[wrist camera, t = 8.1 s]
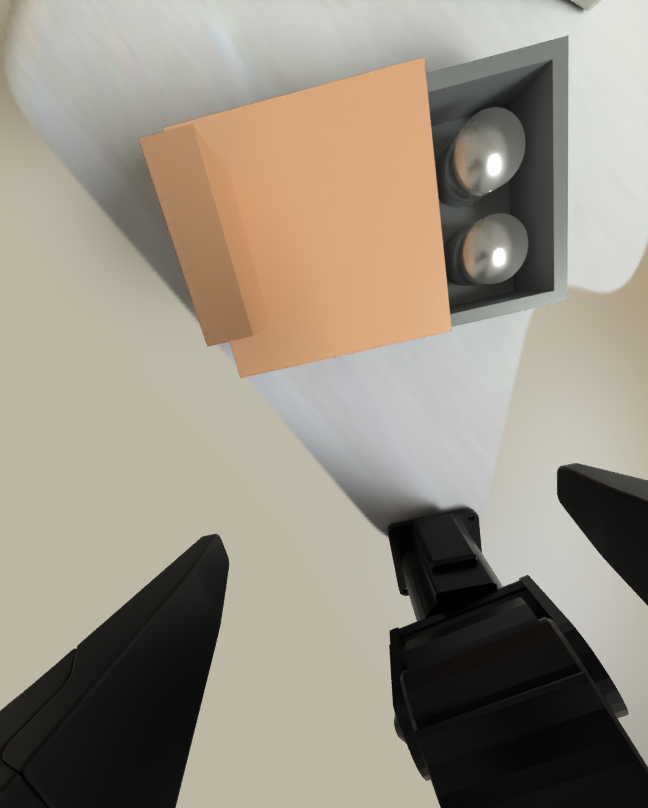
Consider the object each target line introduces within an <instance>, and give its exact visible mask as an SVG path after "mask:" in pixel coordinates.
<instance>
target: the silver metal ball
mask: <svg viewBox="0 0 648 808" xmlns="http://www.w3.org/2000/svg"><path fill="white" fill-rule="evenodd" d="M524 152H525V133H524V130H523V127H522V124H521V122H520V121H519V119H518V118H517V117H516V116H515V115H514V114H513V113H512V112H510V111H509V110H507V109H504V108H499V107H492V108H487V109H484V110H482V111H480V112H478V113H477V114H475V115H474V116H473V117H472V118H470V119H469V121H468V122H467V123H466V124H465V125H464V126H463V128H462V129H461V130H460V131H459V132H458V134H457V135H456V136H455V137H454V138H453V140H452V141H451V142H450V143H449V144H448V145H447V147H446V148H445V149H444V150H443V151H442V153H441V154H440V155H439V157H438V159H437V161H436V163H435V170H436V180H437V189H438V198H439V199H440V200H441V201H442V202H443V203H445V204H446V205H448V206H450V207H455V208H462V207H466V206H469V205H471V204H473V203H474V202H476V201H478V200H479V199H481V198H482V197H484V196H486V195H487V194H489V193H490V192H492V191H494V190H495V189H497V188H499V187H500V186H502V185H503V184H505V183H506V182H507V181H509V180H510V179H511V178H512V177H513V175H514V174H515V173H516V171H517V170H518V168H519V166H520V164H521V162H522V159H523V156H524Z"/></svg>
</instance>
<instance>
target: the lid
mask: <svg viewBox="0 0 648 808" xmlns="http://www.w3.org/2000/svg"><path fill="white" fill-rule="evenodd" d="M163 129H164V132H160V133H156V134H152V135H149V136H145V137H141V138H139V141H140V144H141V147H142V150H143V153H144V156H145V159H146V162H147V165H148V168H149V171H150V174H151V178H152V181H153V184H154V187H155V190H156V193H157V196H158V199H159V202H160V205H161V208H162V211H163V214H164V217H165V220H166V223H167V226H168V229H169V232H170V235H171V238H172V241H173V244H174V247H175V250H176V253H177V256H178V259H179V262H180V265H181V268H182V271H183V274H184V277H185V280H186V283H187V286H188V289H189V292H190V295H191V298H192V301H193V305H194V308H195V311H196V314H197V317H198V320H199V323H200V326H201V329H202V332H203V335H204V338H205V341H206V344H207V346H212V345H216V344H220V343H225V342H230V346H231V349H232V352H233V355H234V359H235V362H236V365H237V368H238V371H239V375H240V378H243V377H247V376H252V375H256V374H261V373H265V372H270V371H274V370H279V369H283V368H288V367H292V366H297V365H301V364H306V363H310V362H315V361H319V360H323V359H328V358H332V357H337V356H341V355H346V354H350V353H355V352H359V351H364V350H368V349H373V348H377V347H382V346H386V345H390V344H395V343H399V342H404V341H408V340H413V339H417V338H422V337H426V336H431V335H435V334H440V333H444V332H449V331H452V328H451V318H450V308H449V298H448V288H447V278H446V268H445V258H444V249H443V239H442V229H441V219H440V209H439V199H438V189H437V180H436V170H435V160H434V150H433V140H432V130H431V120H430V110H429V101H428V91H427V81H426V71H425V61H424V57H423V58H419V59H416V60H412V61H408V62H404V63H401V64H397V65H393V66H390V67H386V68H382V69H379V70H375V71H371V72H368V73H364V74H360V75H357V76H353V77H349V78H345V79H342V80H338V81H334V82H331V83H327V84H323V85H320V86H316V87H312V88H309V89H305V90H301V91H298V92H294V93H290V94H286V95H283V96H279V97H275V98H272V99H268V100H264V101H261V102H257V103H253V104H250V105H246V106H242V107H239V108H235V109H231V110H227V111H224V112H220V113H216V114H213V115H209V116H205V117H202V118H198V119H194V120H191V121H187V122H183V123H180V124H176V125H172V126H168V127H165V128H163Z"/></svg>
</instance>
